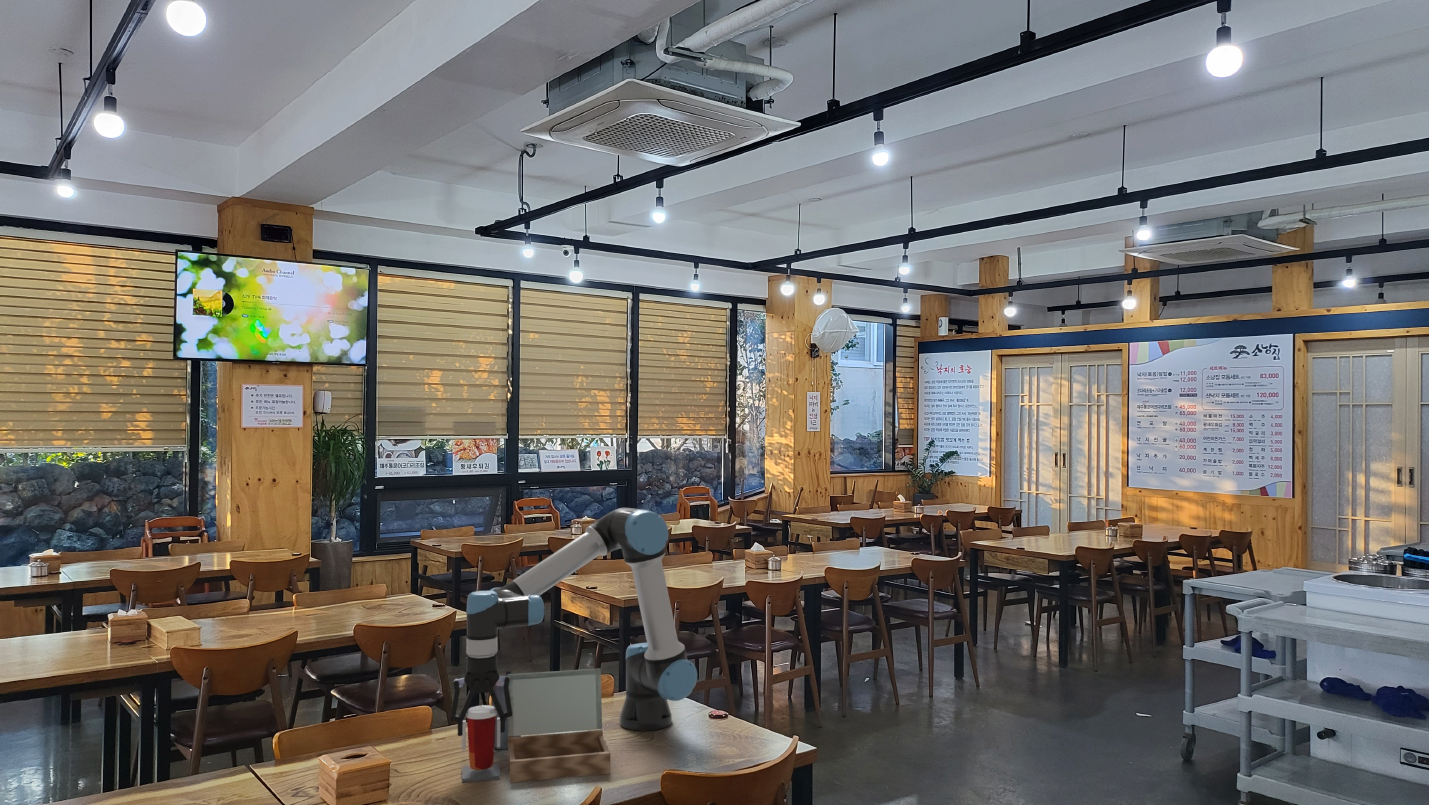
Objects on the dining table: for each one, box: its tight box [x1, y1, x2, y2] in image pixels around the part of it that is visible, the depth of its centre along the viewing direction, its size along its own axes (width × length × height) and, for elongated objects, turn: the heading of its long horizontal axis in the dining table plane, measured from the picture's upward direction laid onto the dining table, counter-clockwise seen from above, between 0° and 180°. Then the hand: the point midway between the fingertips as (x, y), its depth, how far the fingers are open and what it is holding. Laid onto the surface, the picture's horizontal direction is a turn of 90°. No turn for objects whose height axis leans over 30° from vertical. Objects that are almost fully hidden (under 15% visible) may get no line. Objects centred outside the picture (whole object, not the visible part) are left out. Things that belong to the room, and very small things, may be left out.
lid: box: [508, 668, 603, 736], centre depth 244 cm, size 24×15×1 cm
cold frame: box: [507, 729, 611, 784], centre depth 234 cm, size 24×15×6 cm, turn 105°
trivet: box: [461, 762, 501, 783], centre depth 229 cm, size 9×9×1 cm
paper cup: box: [465, 704, 497, 770], centre depth 230 cm, size 8×8×14 cm
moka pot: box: [479, 670, 522, 751], centre depth 251 cm, size 10×15×20 cm, turn 78°
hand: (481, 746), depth 229 cm, fingers closed on paper cup, 8 cm apart
